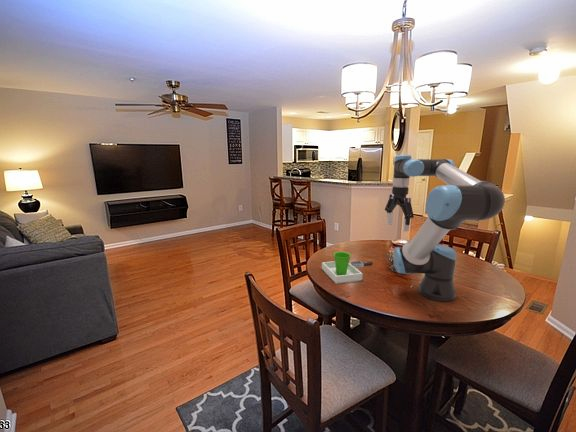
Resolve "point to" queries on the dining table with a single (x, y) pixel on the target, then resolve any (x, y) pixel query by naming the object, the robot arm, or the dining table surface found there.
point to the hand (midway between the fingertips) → (397, 227)
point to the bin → (350, 276)
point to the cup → (341, 262)
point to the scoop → (359, 264)
